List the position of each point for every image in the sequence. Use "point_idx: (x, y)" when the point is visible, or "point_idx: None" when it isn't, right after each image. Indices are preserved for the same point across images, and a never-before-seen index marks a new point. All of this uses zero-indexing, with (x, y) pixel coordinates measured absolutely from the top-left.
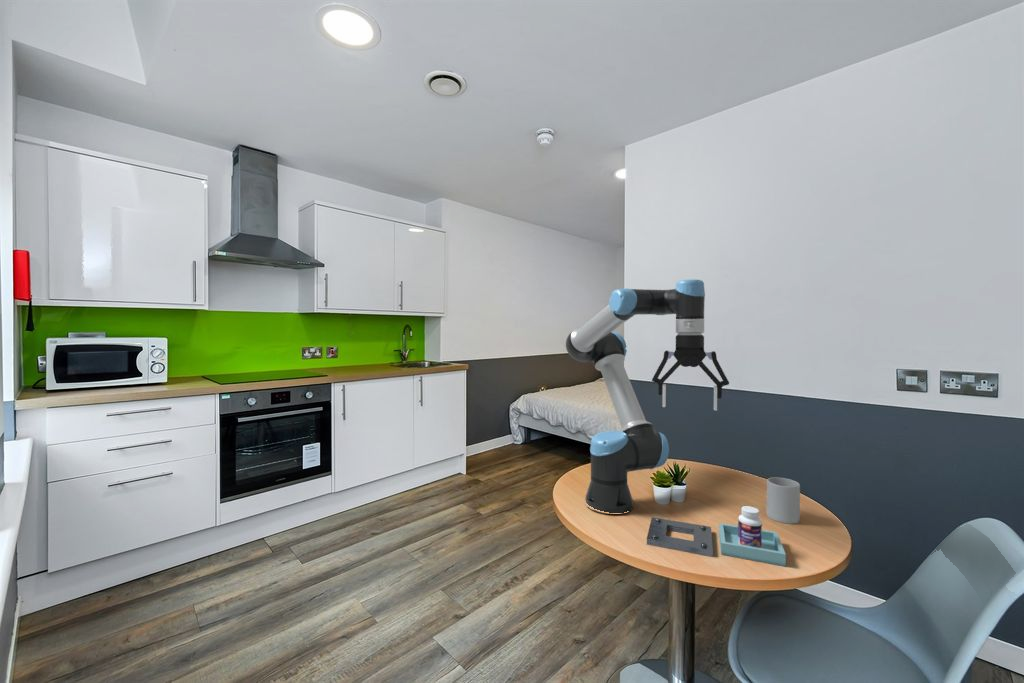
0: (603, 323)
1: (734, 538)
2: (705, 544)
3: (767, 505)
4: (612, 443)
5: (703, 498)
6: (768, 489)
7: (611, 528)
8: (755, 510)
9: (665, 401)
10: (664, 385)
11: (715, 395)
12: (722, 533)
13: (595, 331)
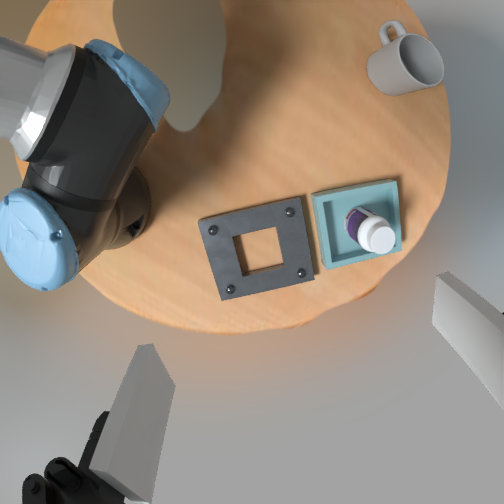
0: None
1: (337, 210)
2: (304, 274)
3: (377, 73)
4: (59, 285)
5: (252, 49)
6: (394, 69)
7: (157, 281)
8: (390, 240)
9: (157, 387)
10: (146, 500)
11: (482, 372)
12: (325, 236)
13: None
